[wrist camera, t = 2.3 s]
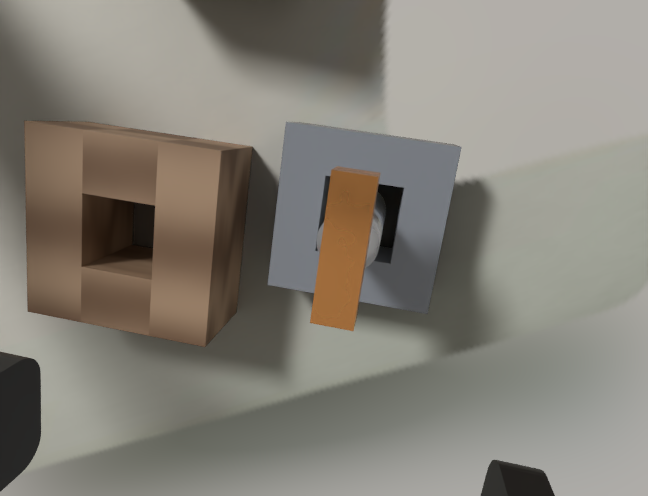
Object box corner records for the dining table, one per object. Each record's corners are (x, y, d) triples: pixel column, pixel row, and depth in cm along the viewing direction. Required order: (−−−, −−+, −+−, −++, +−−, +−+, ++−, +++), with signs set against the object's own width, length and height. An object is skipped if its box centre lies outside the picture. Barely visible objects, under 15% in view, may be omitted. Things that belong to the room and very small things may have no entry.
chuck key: (349, 153, 32) (319, 168, 21) (395, 160, 32) (390, 178, 21) (334, 255, 34) (299, 320, 23) (377, 263, 34) (364, 333, 22)
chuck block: (87, 121, 35) (24, 120, 29) (252, 146, 33) (221, 150, 28) (85, 283, 38) (27, 311, 32) (236, 312, 36) (205, 347, 31)
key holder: (299, 122, 32) (285, 121, 29) (454, 144, 31) (461, 147, 28) (282, 267, 35) (267, 284, 31) (424, 292, 34) (427, 314, 30)
